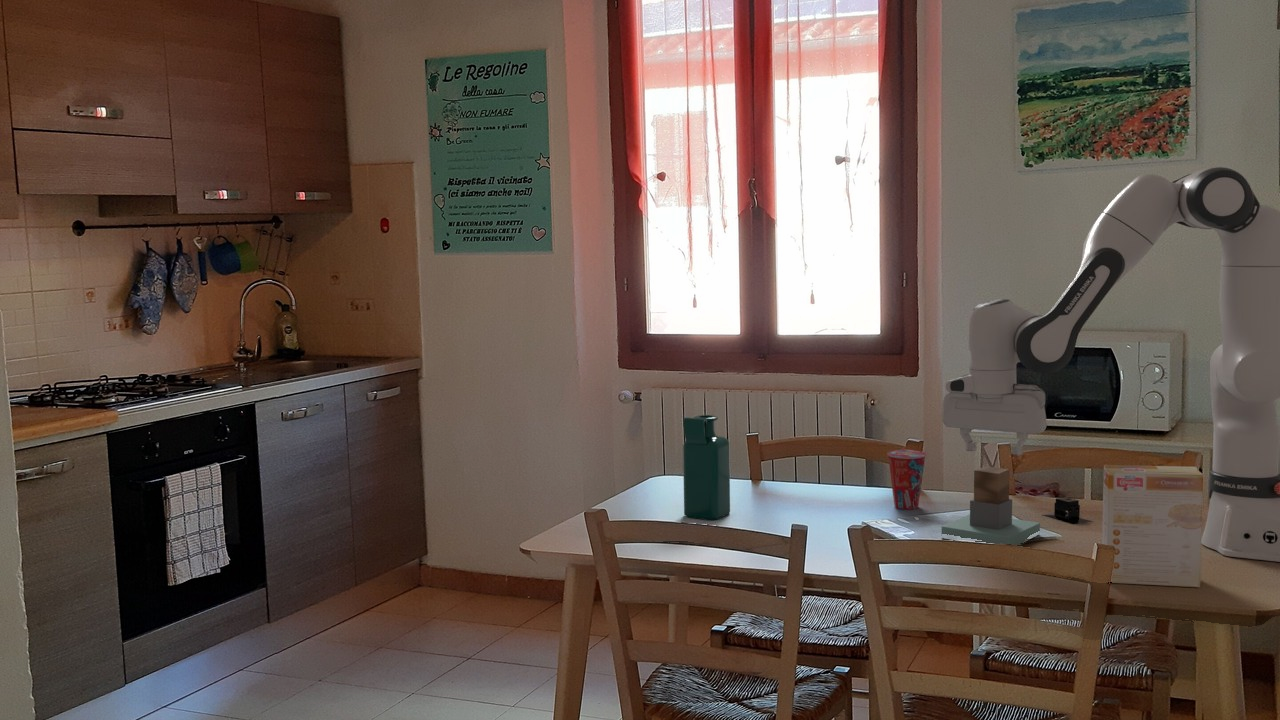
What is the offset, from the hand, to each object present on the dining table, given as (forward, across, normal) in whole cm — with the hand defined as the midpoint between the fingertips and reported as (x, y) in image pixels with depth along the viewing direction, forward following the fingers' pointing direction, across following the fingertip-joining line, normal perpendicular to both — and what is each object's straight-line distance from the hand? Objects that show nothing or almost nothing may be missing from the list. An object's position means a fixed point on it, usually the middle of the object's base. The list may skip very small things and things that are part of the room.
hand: (993, 452), depth 228 cm
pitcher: (+16, +57, +20) cm, 62 cm away
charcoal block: (+14, +1, 0) cm, 14 cm away
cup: (+17, +27, -13) cm, 34 cm away
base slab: (+17, +1, 0) cm, 17 cm away
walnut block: (+9, 0, 0) cm, 9 cm away
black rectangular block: (+18, -5, -23) cm, 30 cm away
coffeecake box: (+18, -33, +10) cm, 39 cm away
